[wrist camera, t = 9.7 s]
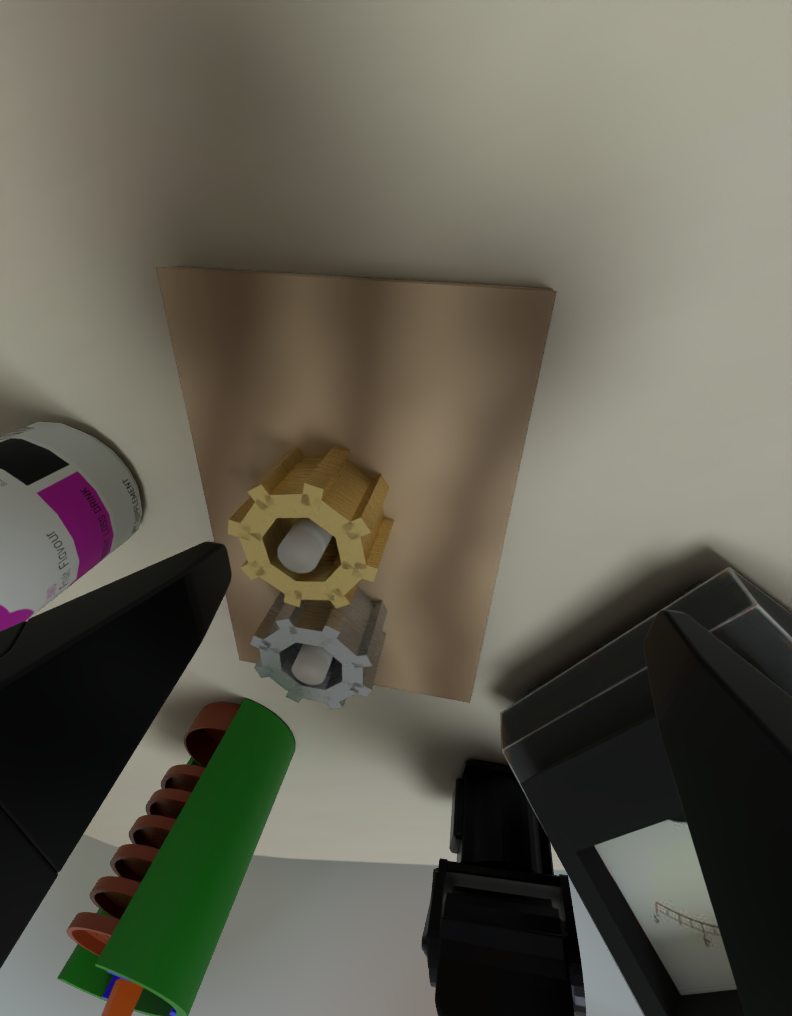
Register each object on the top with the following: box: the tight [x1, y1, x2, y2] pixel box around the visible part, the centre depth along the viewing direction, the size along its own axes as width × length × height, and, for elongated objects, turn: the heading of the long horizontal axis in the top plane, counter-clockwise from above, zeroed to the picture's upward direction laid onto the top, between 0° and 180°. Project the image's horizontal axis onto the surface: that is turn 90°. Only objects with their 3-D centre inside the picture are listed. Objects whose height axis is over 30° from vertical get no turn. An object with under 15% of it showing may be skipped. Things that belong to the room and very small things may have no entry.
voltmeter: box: [500, 567, 792, 1016], centre depth 18 cm, size 16×16×20 cm
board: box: [156, 267, 556, 703], centre depth 22 cm, size 16×24×6 cm, turn 178°
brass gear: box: [228, 445, 394, 608], centre depth 21 cm, size 7×7×4 cm
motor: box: [58, 698, 295, 1016], centre depth 30 cm, size 10×9×20 cm
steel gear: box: [250, 581, 387, 709], centre depth 24 cm, size 7×7×4 cm
